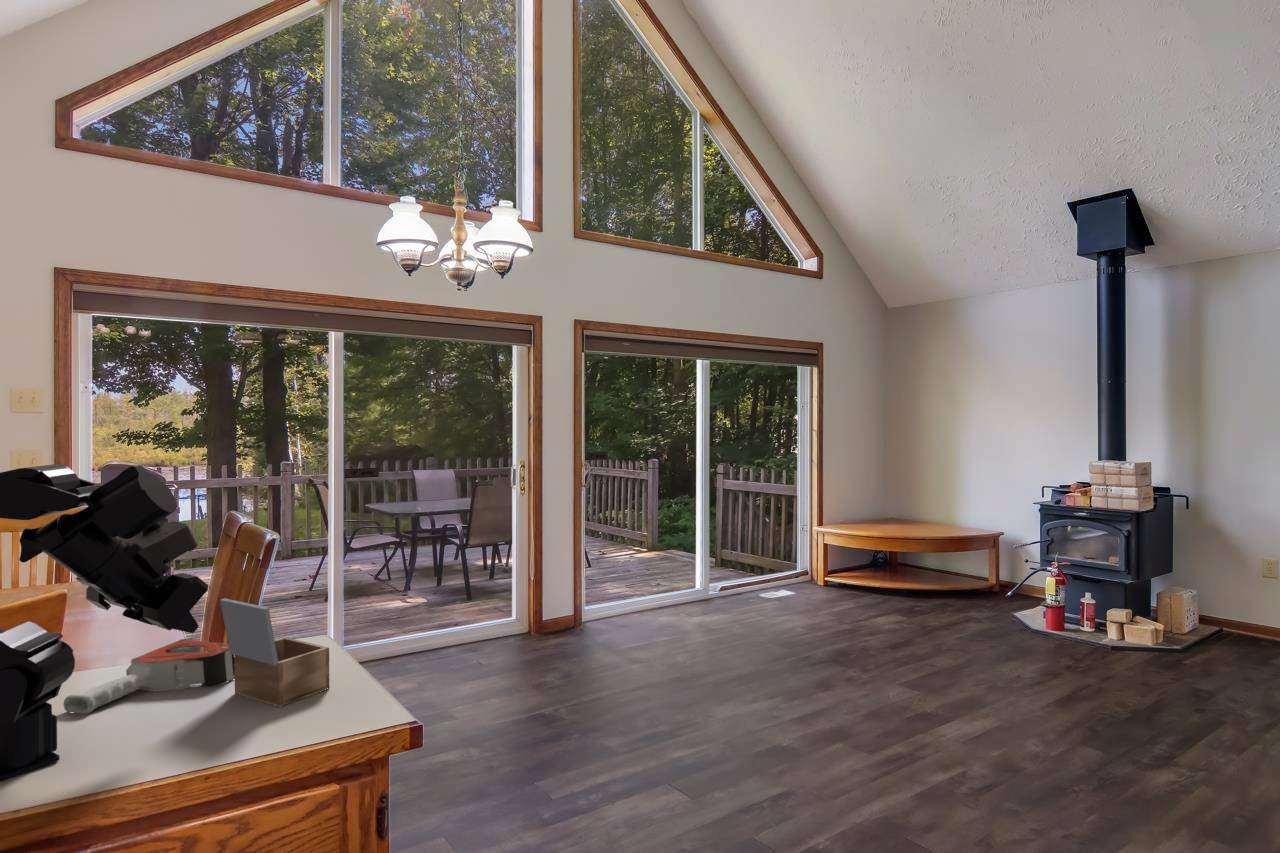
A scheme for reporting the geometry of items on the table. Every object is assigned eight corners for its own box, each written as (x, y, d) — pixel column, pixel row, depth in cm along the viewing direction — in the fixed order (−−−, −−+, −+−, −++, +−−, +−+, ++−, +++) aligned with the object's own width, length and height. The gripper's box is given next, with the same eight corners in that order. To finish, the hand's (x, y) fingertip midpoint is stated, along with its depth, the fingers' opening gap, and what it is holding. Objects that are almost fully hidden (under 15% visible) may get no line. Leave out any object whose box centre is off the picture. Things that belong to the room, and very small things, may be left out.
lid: (278, 663, 104) (274, 665, 104) (234, 651, 109) (230, 653, 109) (268, 607, 103) (264, 609, 102) (224, 598, 108) (220, 599, 107)
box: (279, 707, 104) (278, 663, 104) (234, 693, 110) (234, 651, 109) (329, 688, 111) (329, 647, 111) (285, 676, 116) (285, 637, 116)
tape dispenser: (60, 732, 101) (232, 700, 108) (56, 693, 100) (229, 664, 108) (97, 681, 117) (244, 657, 125) (93, 647, 117) (241, 625, 124)
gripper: (191, 509, 89) (279, 586, 99) (114, 497, 99) (201, 568, 109) (115, 589, 83) (217, 664, 92) (41, 568, 93) (140, 637, 102)
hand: (194, 629), depth 99 cm, fingers closed
